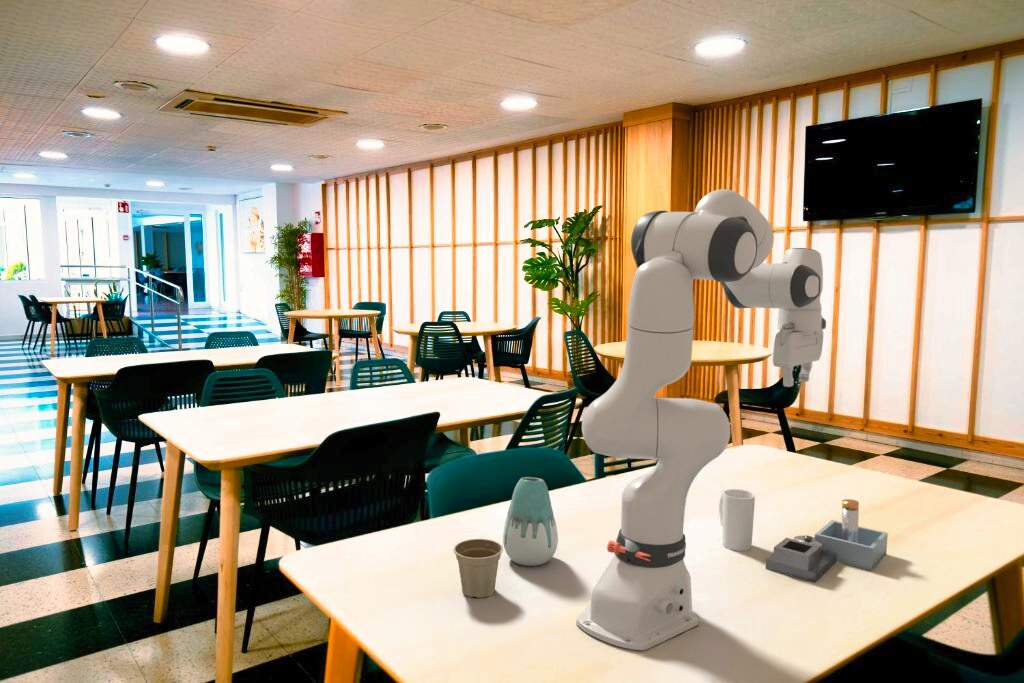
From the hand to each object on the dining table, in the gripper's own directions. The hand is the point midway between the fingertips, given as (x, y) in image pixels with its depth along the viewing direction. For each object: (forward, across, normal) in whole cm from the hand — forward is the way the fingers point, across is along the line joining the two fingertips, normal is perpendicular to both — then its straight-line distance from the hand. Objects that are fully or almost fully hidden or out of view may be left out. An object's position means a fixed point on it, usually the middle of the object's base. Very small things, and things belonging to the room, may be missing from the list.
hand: (796, 383), depth 159 cm
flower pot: (+37, -66, +34) cm, 83 cm away
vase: (+37, -48, +37) cm, 71 cm away
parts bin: (+36, +1, -13) cm, 39 cm away
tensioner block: (+36, -12, -7) cm, 39 cm away
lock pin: (+36, +1, -13) cm, 38 cm away
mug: (+37, -10, +9) cm, 39 cm away
